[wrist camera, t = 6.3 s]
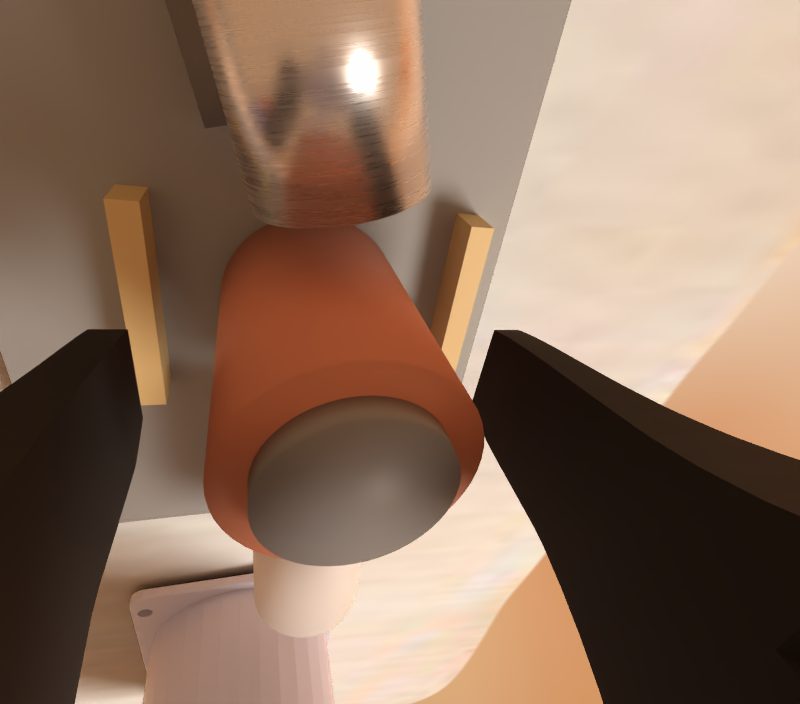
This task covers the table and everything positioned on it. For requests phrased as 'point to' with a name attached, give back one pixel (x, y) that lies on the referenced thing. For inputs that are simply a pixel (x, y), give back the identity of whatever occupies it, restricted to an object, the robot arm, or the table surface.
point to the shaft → (314, 102)
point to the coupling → (330, 404)
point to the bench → (227, 220)
